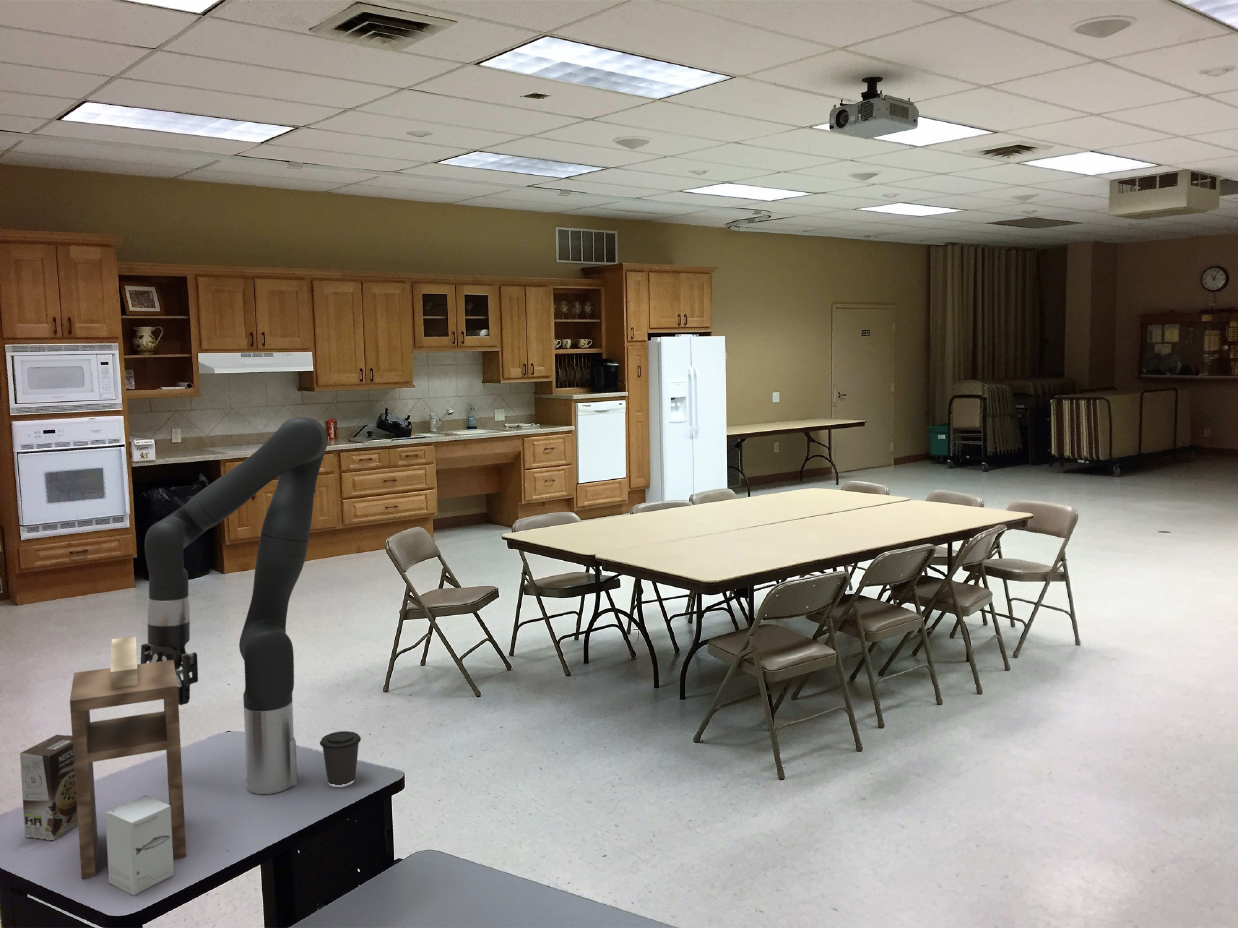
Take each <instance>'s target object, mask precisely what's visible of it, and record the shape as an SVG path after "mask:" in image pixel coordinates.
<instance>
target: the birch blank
mask: <svg viewBox="0 0 1238 928" xmlns="http://www.w3.org/2000/svg"><path fill="white" fill-rule="evenodd" d="M110 653H111V654H110V668H111V688H112V689H117V688H124V687H131V686H138V672H137V665H138V653H137V636H129V637H121V638H112V639H111V650H110Z"/></svg>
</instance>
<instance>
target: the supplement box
mask: <svg viewBox="0 0 1238 928" xmlns="http://www.w3.org/2000/svg"><path fill="white" fill-rule="evenodd" d="M104 815H105V833H106V851H107V866H108V867H107V868H108V870H107V871H108V883H110V884H111V885H113V886H115V887H117V888H118V889H121V890H122V891H124V892H127V894H130V895H132V896H136V895H137V894H139V893H140V892H143V891H145V890H146V889H148V888H151V887H152V886H155V885H156V884H158V883H160V882H162V881H164V880H166V879H169V878H171V877H173V876H174V875H175V874H174V873H175V872H174V871H175V870H174V857H173V846H172V825H171V806H170V805H169V803H165V802H163V801H160V800H158V799H156V798H153V797H150V796H148V795H143V796H140V797H138V798H137V799H134V800H132V801H129V802H127V803H124V804H123V805H120V806H118V807H115V808H112V809H110V810H107V811H105V813H104Z"/></svg>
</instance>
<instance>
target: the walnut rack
mask: <svg viewBox="0 0 1238 928" xmlns="http://www.w3.org/2000/svg"><path fill="white" fill-rule="evenodd" d="M137 672H138V686H131V687H124V688H117V689H112V688H111V667H109V668H102V669H101V668H99V669H94V670H93V669H92V670H86V671H78V672H74V673H73V676H72V677H73V679H72V684H71V689H70V690H71V691H70V697H69V707H70V709H69V710H70V723H71V724H70V725H71V736H72V741H73V756H74V771H75V786H76V801H77V816H78V825H77V827H78V829H77V830H78V831H77V832H78V842H79V843H78V845H79V857H80V859H79V860H80V861H79V862H80V873H81V874H80V875H81V879H82V880H83V879H89V878H93V877H96V872H97V871H96V869H97V852H98V848H97V847H98V824H97V823H98V821H97V820H98V819H97V808H96V793H95V792H96V791H95V777H94V762H95V763H96V762H100V761H106V760H112V759H119V758H120V759H121V758H124V757H130V756H135V755H136V756H137V755H143V754H149V753H155V752H162V751H165V753H166V766H167V767H166V768H167V771H166V773H167V785H168V786H167V787H168V805H170V806H171V825H172V846H173V860H177V859H181V858H182V859H183V858H186V857H187V847H186V846H187V845H186V843H187V841H186V825H185V807H184V806H185V805H184V789H183V788H184V787H183V786H184V785H183V767H182V766H183V765H182V747H181V746H182V745H181V731H180V730H181V729H180V710H179V708H180V707H179V706H180V705H178V685H177V679H176V673H175V666H174V660H169V661H161V662H153V663H149V662H147V663H145V664H141V663H140V664H139V663H137ZM161 700H163V710H162V711H155V712H150V713H141V714H136V715H135V714H134V715H131V716H130V715H129V716H124V717H122V716H121V717H117V718H108V719H103V720H97V721H91V713H90V712H91V711H92V710H98V709H105V708H112V707H113V708H114V707H118V706H120V707H121V706H126V705H132V704H133V705H134V704H140V703H147V702H153V701H161Z"/></svg>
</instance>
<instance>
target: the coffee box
mask: <svg viewBox="0 0 1238 928" xmlns="http://www.w3.org/2000/svg"><path fill="white" fill-rule="evenodd" d="M19 758H20V775H21V777H20V778H21V790H22V793H21V794H22V807H23V810H22V811H23V821H24V822H23V824H24V825H23V826H24V837H25V836H29V837H35V838H34V839H36V838H40V839H39V840H43V839H46V840H45V841H50V840H53V841H56V840H57V839H59V838H60V837H61V836H63V835H65V834H66V833H68V832H70V831H71V830H72V829H74V828H76V827H78V816H77V801H76V786H75V771H74V756H73V741H72V735H62V734H55V735H53V736H52V737H49V738H47V739H45V740H44V741H42V742H39V743H38V744H35V745H34V746H31V747H30V748H27V749H26V750H24V751H22V752H19ZM55 839H56V840H55Z"/></svg>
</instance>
